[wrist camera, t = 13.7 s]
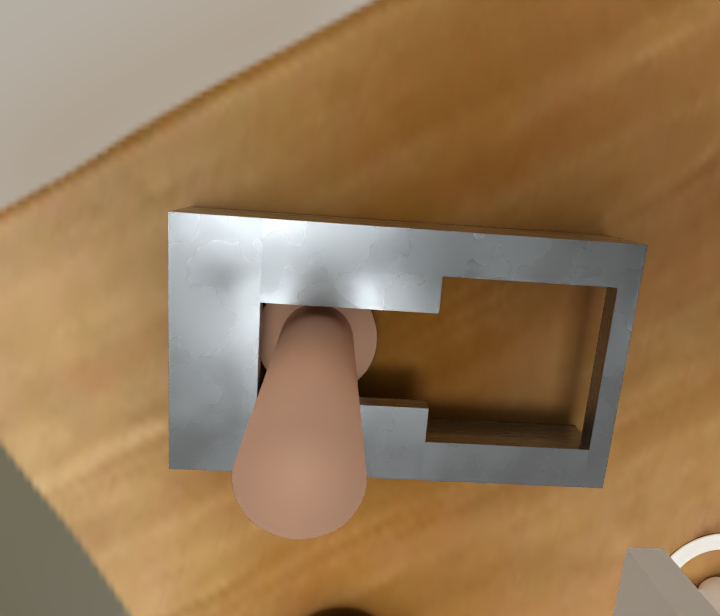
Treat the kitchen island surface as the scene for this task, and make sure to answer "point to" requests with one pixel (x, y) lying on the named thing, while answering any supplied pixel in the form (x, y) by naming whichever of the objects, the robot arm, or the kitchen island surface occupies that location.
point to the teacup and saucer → (713, 588)
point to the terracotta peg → (306, 421)
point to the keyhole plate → (380, 292)
